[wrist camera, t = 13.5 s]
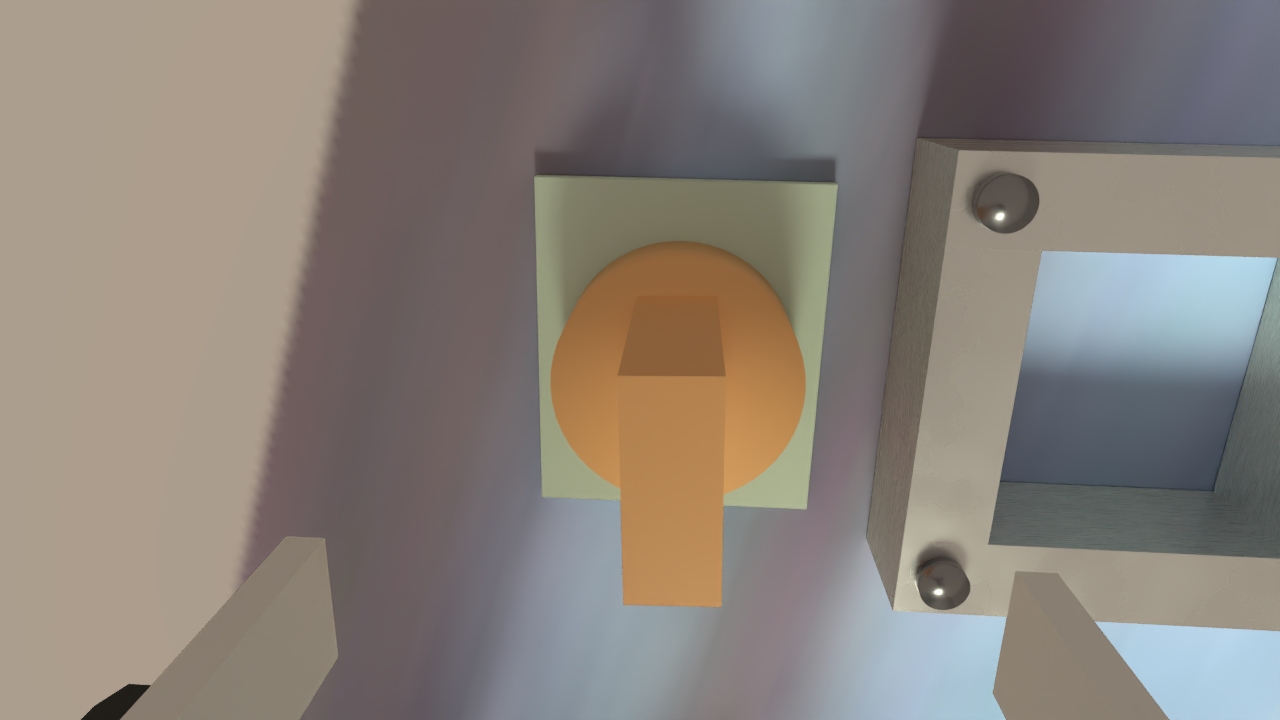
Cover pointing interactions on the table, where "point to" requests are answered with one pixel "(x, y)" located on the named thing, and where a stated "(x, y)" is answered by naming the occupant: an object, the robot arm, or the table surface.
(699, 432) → the orange stamp
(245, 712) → the robot arm
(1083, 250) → the housing
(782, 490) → the mat
